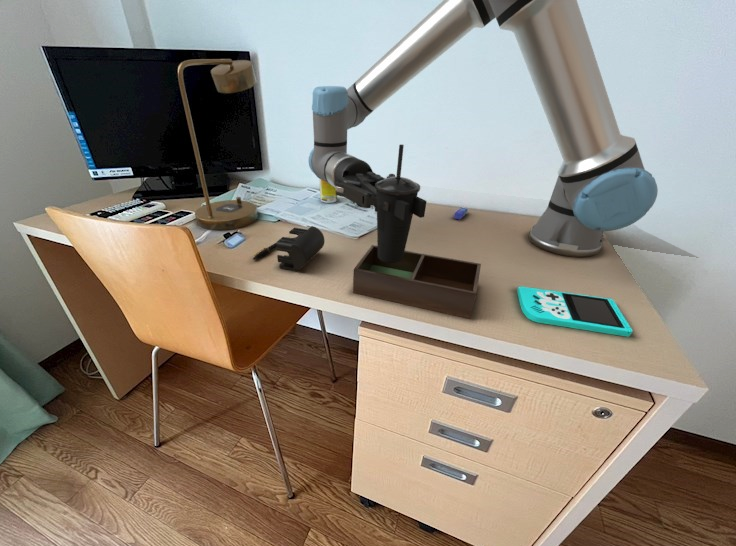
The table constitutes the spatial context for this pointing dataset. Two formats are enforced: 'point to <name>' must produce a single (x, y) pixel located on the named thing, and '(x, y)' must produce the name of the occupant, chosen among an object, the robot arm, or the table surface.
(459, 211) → the eraser
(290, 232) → the end cap
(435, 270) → the divided storage box
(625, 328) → the handheld game console
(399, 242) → the drinking cup
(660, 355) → the table surface
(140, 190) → the table surface
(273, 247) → the fountain pen
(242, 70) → the lamp
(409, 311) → the table surface
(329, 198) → the supplement bottle
